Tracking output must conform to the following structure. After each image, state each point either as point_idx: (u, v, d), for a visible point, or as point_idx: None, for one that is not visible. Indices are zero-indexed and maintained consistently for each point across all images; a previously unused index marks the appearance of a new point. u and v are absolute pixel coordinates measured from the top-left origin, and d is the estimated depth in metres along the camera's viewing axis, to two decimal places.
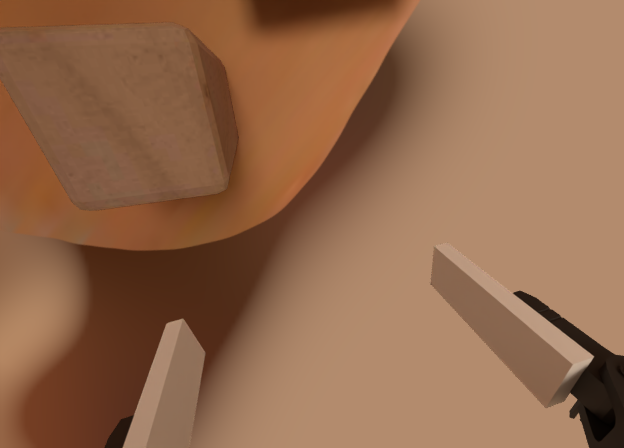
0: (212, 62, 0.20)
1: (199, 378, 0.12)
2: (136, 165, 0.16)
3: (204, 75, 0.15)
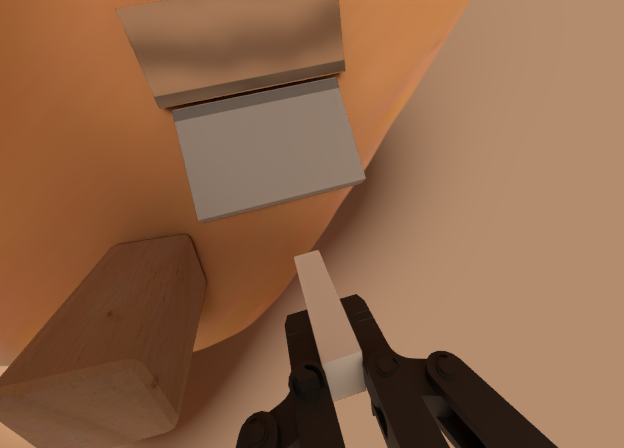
0: (167, 308, 0.24)
1: None
2: (101, 436, 0.20)
3: (151, 374, 0.20)
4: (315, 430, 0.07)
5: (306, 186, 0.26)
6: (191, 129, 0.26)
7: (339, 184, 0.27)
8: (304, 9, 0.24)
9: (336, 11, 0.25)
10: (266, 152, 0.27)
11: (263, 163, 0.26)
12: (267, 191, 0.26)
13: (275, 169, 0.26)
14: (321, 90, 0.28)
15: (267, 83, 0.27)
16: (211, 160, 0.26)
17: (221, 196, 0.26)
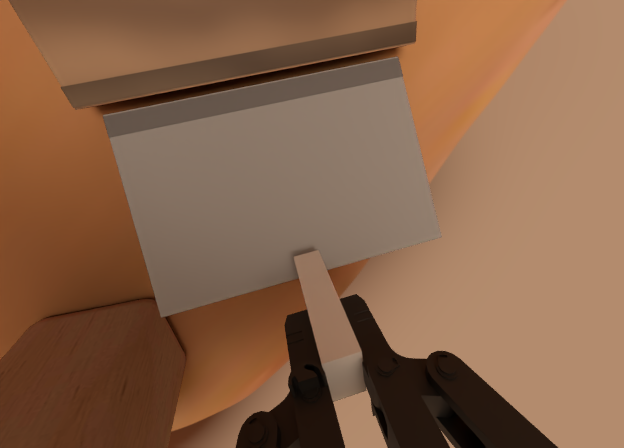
0: None
1: None
2: None
3: None
4: (315, 430, 0.07)
5: (345, 252, 0.16)
6: (141, 152, 0.14)
7: (399, 247, 0.16)
8: None
9: None
10: (278, 194, 0.15)
11: (273, 214, 0.15)
12: (281, 263, 0.15)
13: (294, 225, 0.15)
14: (373, 81, 0.16)
15: (278, 63, 0.14)
16: (181, 210, 0.15)
17: (201, 274, 0.15)
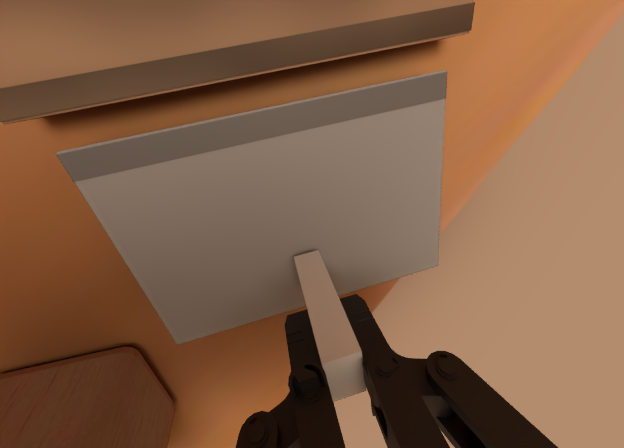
0: None
1: None
2: None
3: None
4: (315, 430, 0.07)
5: (349, 284, 0.17)
6: (122, 199, 0.12)
7: (398, 276, 0.17)
8: None
9: None
10: (287, 237, 0.14)
11: (282, 256, 0.15)
12: (289, 296, 0.16)
13: None
14: (409, 104, 0.13)
15: (288, 59, 0.11)
16: (182, 257, 0.13)
17: (211, 310, 0.15)
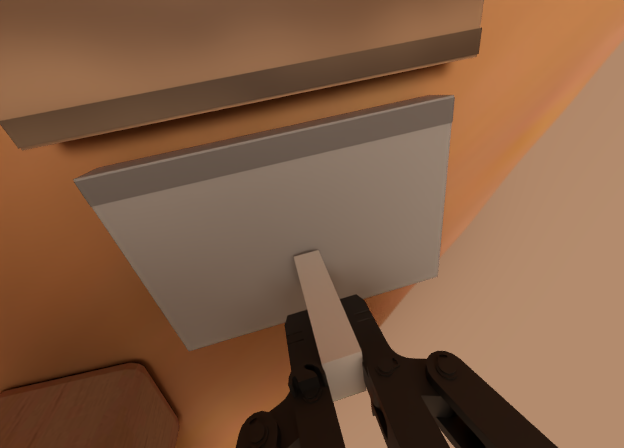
0: None
1: None
2: None
3: None
4: (315, 430, 0.07)
5: (353, 294, 0.17)
6: (137, 221, 0.12)
7: (399, 286, 0.18)
8: None
9: None
10: (295, 252, 0.15)
11: (289, 270, 0.15)
12: (295, 306, 0.17)
13: None
14: (416, 129, 0.13)
15: (299, 84, 0.11)
16: (194, 273, 0.14)
17: (221, 320, 0.16)
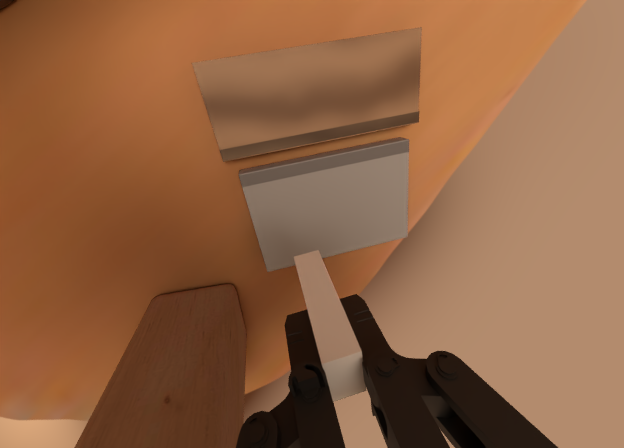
0: (227, 388, 0.21)
1: None
2: None
3: None
4: (315, 430, 0.07)
5: (358, 244, 0.31)
6: (259, 195, 0.26)
7: (385, 241, 0.31)
8: (385, 62, 0.23)
9: (417, 64, 0.23)
10: (329, 216, 0.28)
11: (325, 226, 0.29)
12: (326, 248, 0.30)
13: (335, 231, 0.29)
14: (391, 154, 0.27)
15: (337, 135, 0.25)
16: (279, 224, 0.28)
17: (287, 253, 0.29)
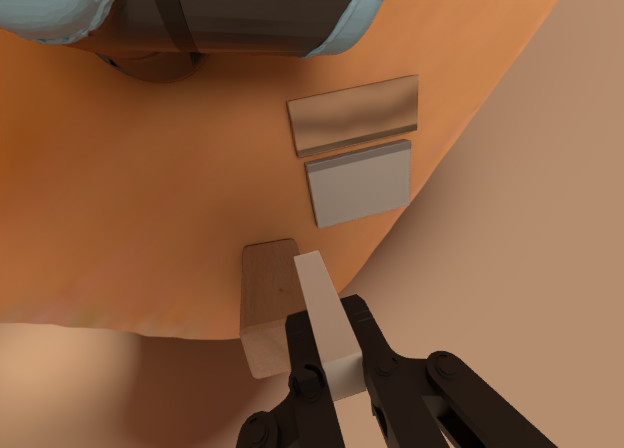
0: None
1: None
2: (285, 362, 0.34)
3: None
4: (315, 430, 0.07)
5: (377, 210, 0.47)
6: (317, 178, 0.41)
7: (395, 208, 0.47)
8: (396, 95, 0.38)
9: (416, 95, 0.39)
10: (359, 191, 0.44)
11: (357, 198, 0.45)
12: (356, 213, 0.46)
13: (362, 201, 0.45)
14: (399, 150, 0.42)
15: (367, 139, 0.40)
16: (328, 196, 0.43)
17: (332, 216, 0.45)
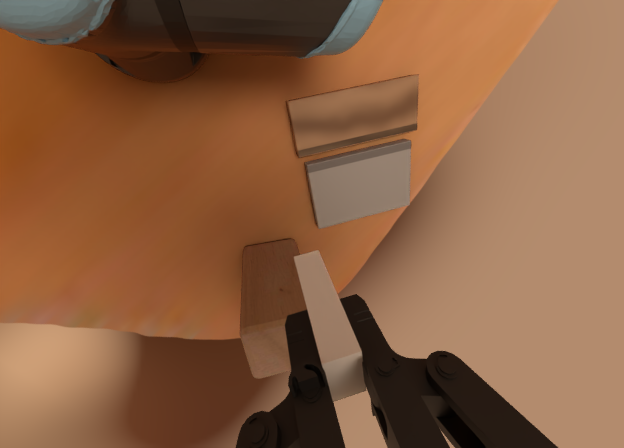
0: None
1: None
2: (285, 362, 0.34)
3: None
4: (315, 430, 0.07)
5: (377, 209, 0.47)
6: (318, 178, 0.41)
7: (395, 208, 0.47)
8: (396, 95, 0.38)
9: (416, 95, 0.39)
10: (359, 191, 0.44)
11: (357, 197, 0.45)
12: (357, 213, 0.46)
13: (363, 201, 0.45)
14: (399, 150, 0.42)
15: (367, 139, 0.40)
16: (328, 196, 0.43)
17: (332, 216, 0.45)
